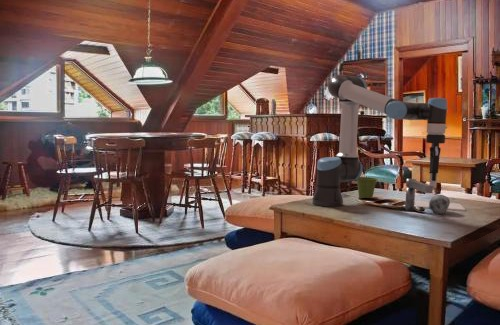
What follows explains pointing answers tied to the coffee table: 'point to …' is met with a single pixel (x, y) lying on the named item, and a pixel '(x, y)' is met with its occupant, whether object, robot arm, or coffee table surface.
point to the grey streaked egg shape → (439, 204)
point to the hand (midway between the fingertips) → (432, 188)
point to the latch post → (410, 199)
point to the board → (451, 207)
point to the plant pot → (366, 186)
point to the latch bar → (419, 186)
